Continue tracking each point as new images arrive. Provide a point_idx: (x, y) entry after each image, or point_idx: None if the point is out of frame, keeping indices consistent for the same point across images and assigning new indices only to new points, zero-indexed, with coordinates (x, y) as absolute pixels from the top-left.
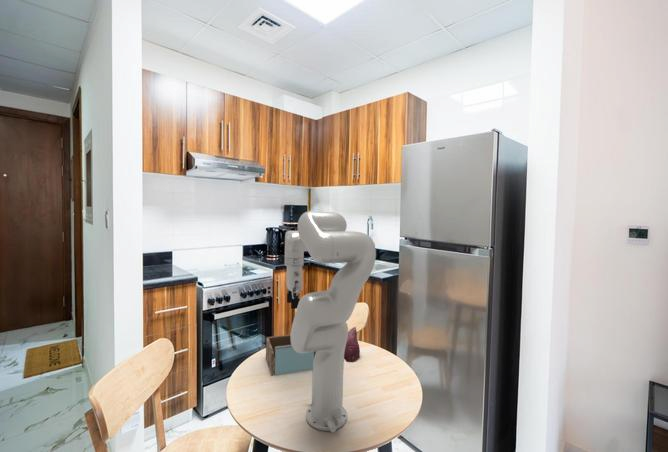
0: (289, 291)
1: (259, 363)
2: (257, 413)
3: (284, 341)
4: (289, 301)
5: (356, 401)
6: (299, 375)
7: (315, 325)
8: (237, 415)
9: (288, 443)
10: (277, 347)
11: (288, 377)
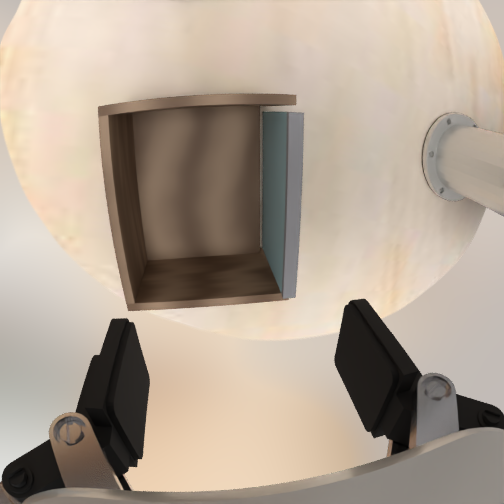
0: (121, 473)
1: None
2: (389, 288)
3: (126, 223)
4: (145, 374)
5: (435, 65)
6: None
7: None
8: None
9: (468, 241)
10: (293, 290)
11: None
